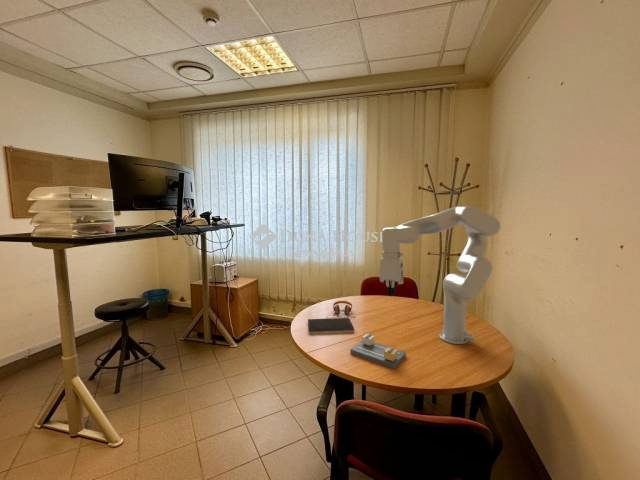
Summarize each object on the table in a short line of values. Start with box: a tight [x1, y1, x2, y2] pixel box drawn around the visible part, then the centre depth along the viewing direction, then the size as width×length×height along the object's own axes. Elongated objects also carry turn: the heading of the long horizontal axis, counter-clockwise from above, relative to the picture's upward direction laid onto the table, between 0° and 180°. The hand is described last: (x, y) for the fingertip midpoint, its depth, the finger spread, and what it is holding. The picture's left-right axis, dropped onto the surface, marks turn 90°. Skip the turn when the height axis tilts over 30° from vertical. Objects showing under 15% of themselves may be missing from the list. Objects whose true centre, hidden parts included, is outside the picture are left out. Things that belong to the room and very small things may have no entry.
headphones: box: [325, 300, 355, 321], centre depth 168 cm, size 17×5×20 cm
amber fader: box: [384, 346, 397, 361], centre depth 114 cm, size 4×4×4 cm
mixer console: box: [350, 340, 407, 370], centre depth 121 cm, size 20×12×2 cm, turn 52°
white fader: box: [361, 333, 376, 346], centre depth 127 cm, size 4×4×4 cm
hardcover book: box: [307, 317, 355, 335], centre depth 151 cm, size 16×23×2 cm
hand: (391, 295), depth 128 cm, fingers closed
